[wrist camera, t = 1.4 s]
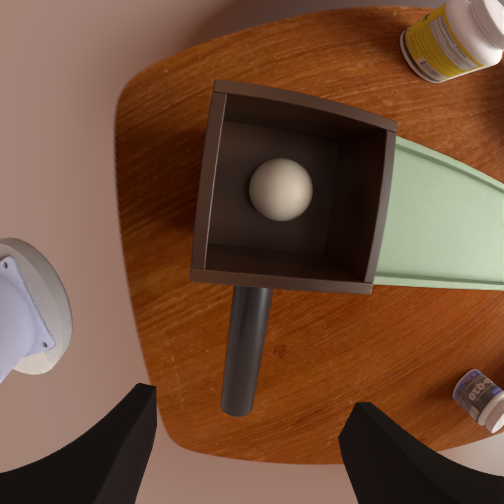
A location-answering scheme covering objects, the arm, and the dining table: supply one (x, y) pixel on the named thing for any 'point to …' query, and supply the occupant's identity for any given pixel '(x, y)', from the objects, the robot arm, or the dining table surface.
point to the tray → (441, 224)
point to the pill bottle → (481, 399)
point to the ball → (280, 189)
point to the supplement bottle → (455, 39)
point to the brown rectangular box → (293, 231)
